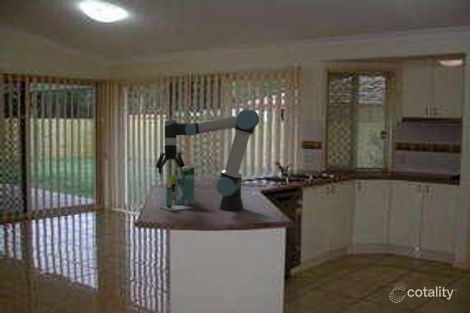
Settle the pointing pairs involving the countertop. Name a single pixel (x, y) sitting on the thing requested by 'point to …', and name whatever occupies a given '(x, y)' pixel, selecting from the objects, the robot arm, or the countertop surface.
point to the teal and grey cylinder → (168, 197)
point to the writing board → (177, 208)
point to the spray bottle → (172, 179)
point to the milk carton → (184, 186)
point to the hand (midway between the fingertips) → (170, 178)
